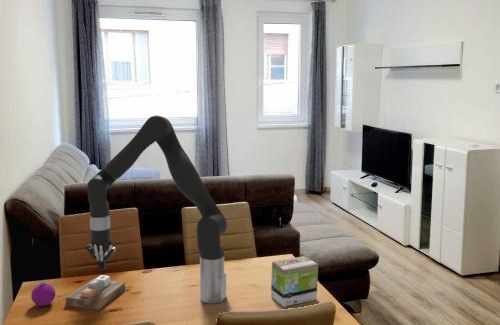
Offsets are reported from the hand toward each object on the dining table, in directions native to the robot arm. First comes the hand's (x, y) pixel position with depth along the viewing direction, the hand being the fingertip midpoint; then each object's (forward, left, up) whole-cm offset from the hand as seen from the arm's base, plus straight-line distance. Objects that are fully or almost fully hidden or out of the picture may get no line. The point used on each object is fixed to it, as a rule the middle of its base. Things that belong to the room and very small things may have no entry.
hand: (102, 269), depth 184 cm
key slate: (0, +5, -7) cm, 8 cm away
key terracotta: (0, +9, -8) cm, 12 cm away
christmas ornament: (+15, +16, -10) cm, 24 cm away
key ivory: (0, 0, -7) cm, 7 cm away
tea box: (-73, -16, -10) cm, 76 cm away
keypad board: (0, +5, -10) cm, 11 cm away
